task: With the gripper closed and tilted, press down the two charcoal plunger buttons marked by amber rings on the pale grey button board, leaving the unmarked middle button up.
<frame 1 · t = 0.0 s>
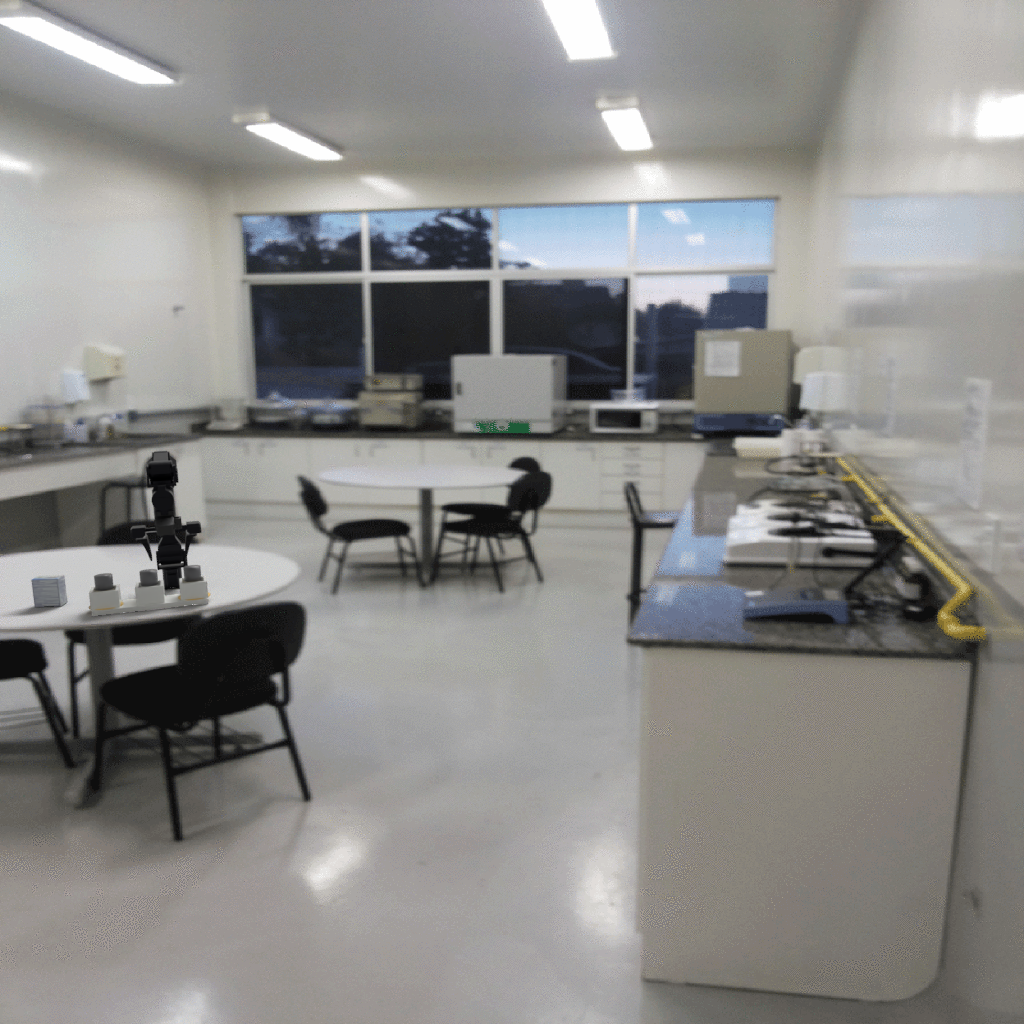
hand: (168, 559, 253), 15 cm above the table, tool pointing down, fingers open, 9 cm apart
medicine box: (51, 605, 263), on the table
button b: (148, 577, 258), point 9 cm above the table, slide at 0.0 cm
button board: (151, 605, 259), on the table
button c: (103, 582, 254), point 9 cm above the table, slide at 0.0 cm
button a: (192, 573, 262), point 9 cm above the table, slide at 0.0 cm
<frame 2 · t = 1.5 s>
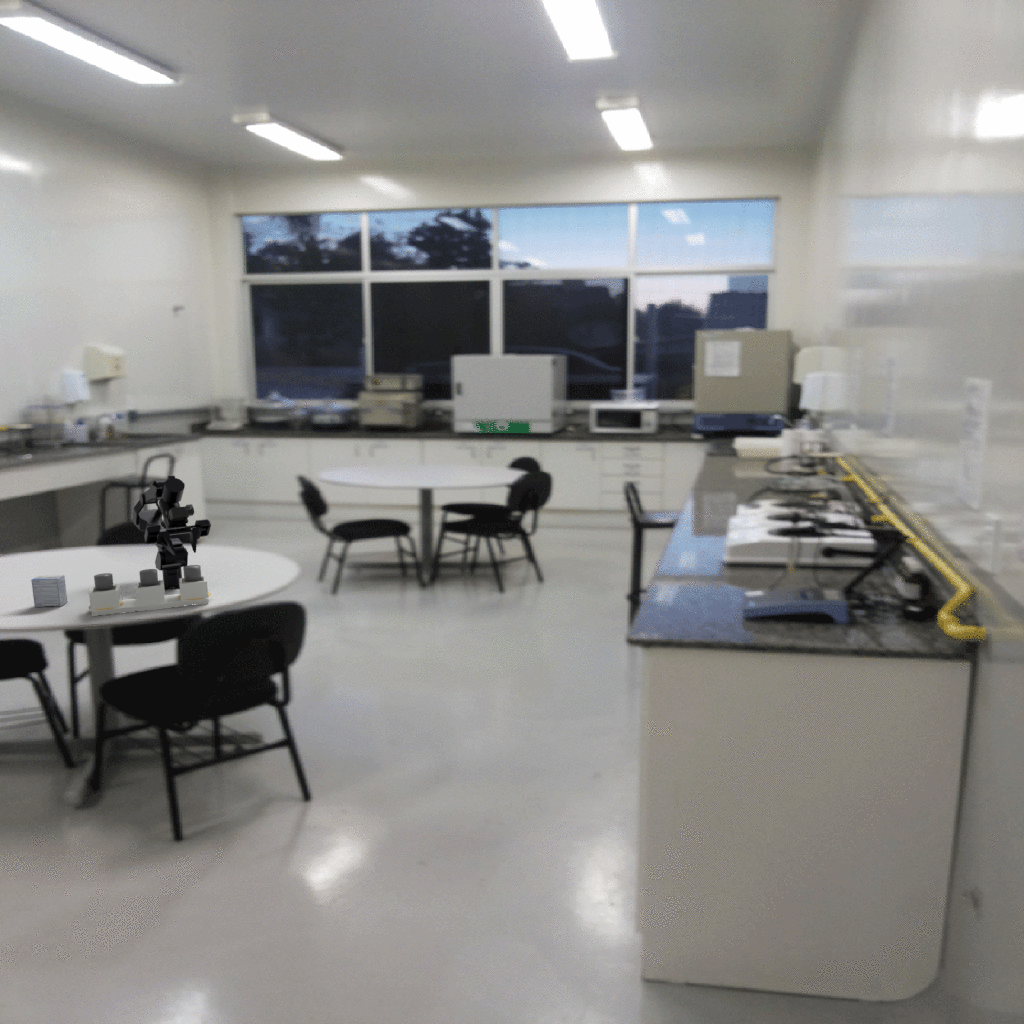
hand: (185, 553, 266), 14 cm above the table, tool tilted 45°, fingers open, 6 cm apart
nothing on the table moved.
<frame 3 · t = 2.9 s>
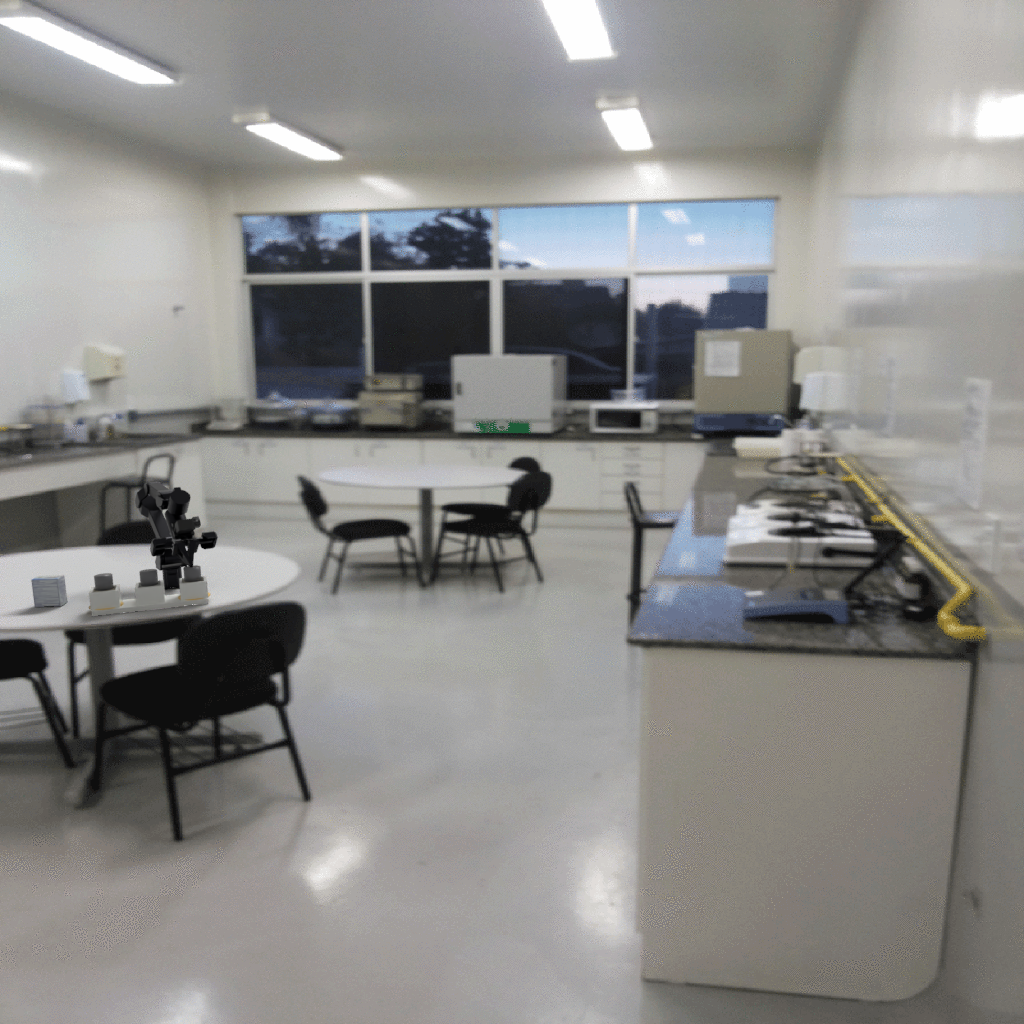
hand: (191, 566, 262), 11 cm above the table, tool tilted 45°, fingers closed, pressing on button a
button a: (192, 573, 262), point 8 cm above the table, slide at 0.2 cm, touching gripper
everything else where it was.
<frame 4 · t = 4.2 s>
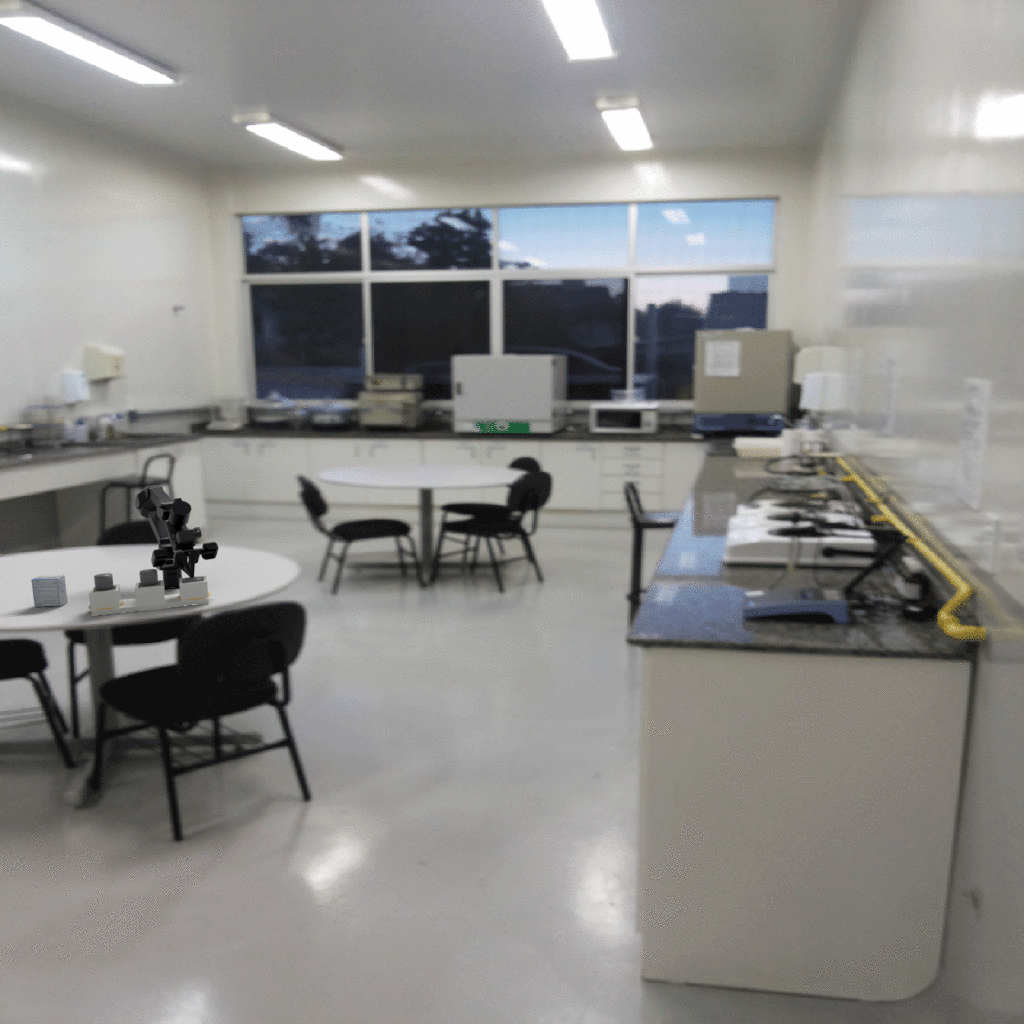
hand: (192, 577, 262), 7 cm above the table, tool tilted 45°, fingers closed
button a: (193, 585, 263), point 5 cm above the table, slide at 3.6 cm
everything else where it was.
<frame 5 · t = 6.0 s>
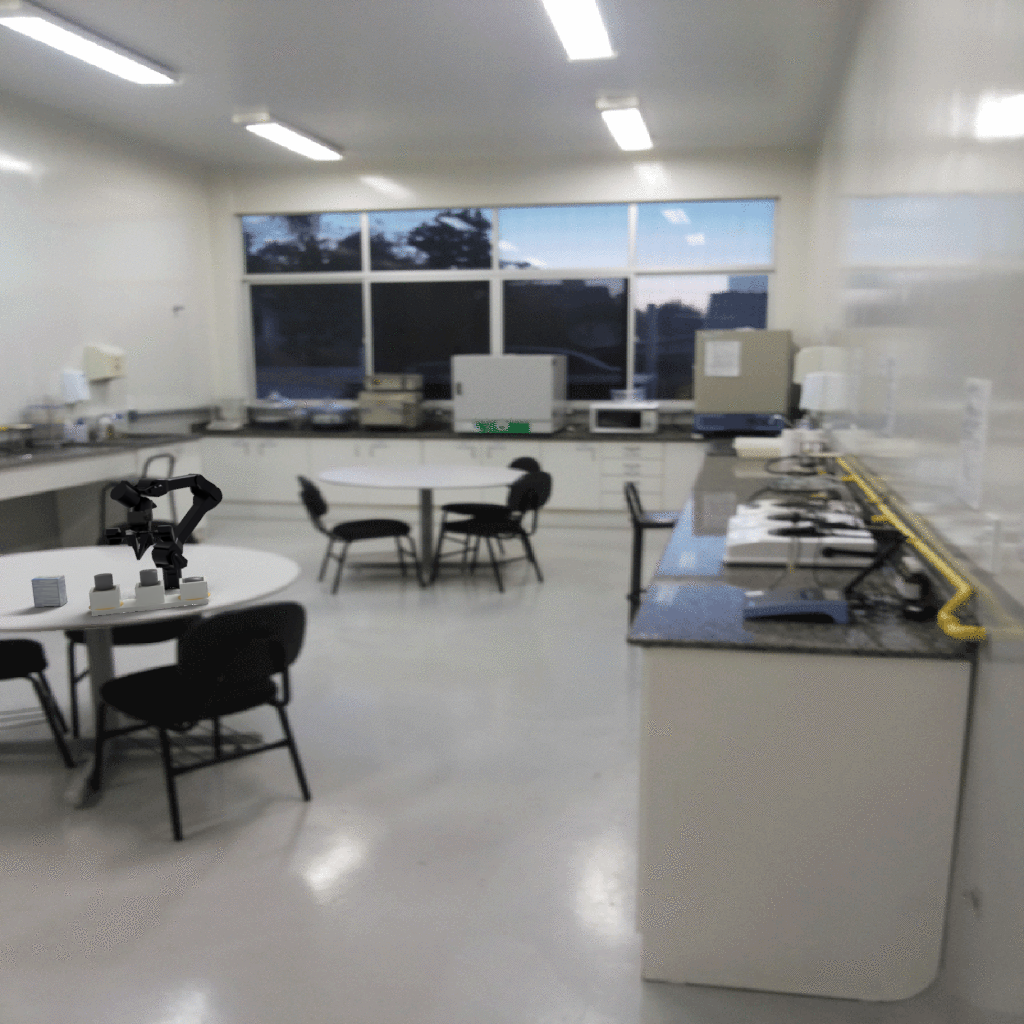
hand: (138, 559, 259), 14 cm above the table, tool tilted 45°, fingers closed
nothing on the table moved.
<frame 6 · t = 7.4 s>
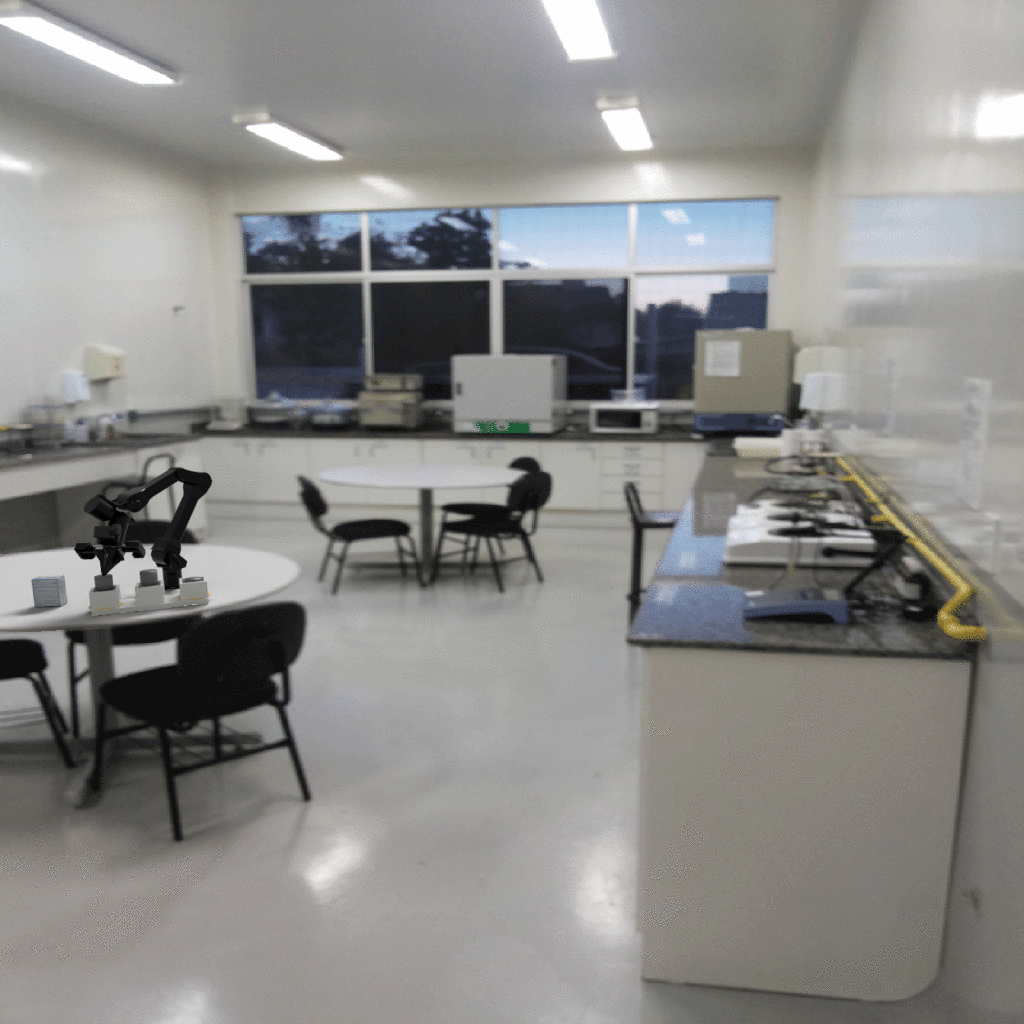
hand: (103, 574, 253), 11 cm above the table, tool tilted 45°, fingers closed, pressing on button c
button c: (103, 582, 254), point 8 cm above the table, slide at 0.2 cm, touching gripper
everything else where it was.
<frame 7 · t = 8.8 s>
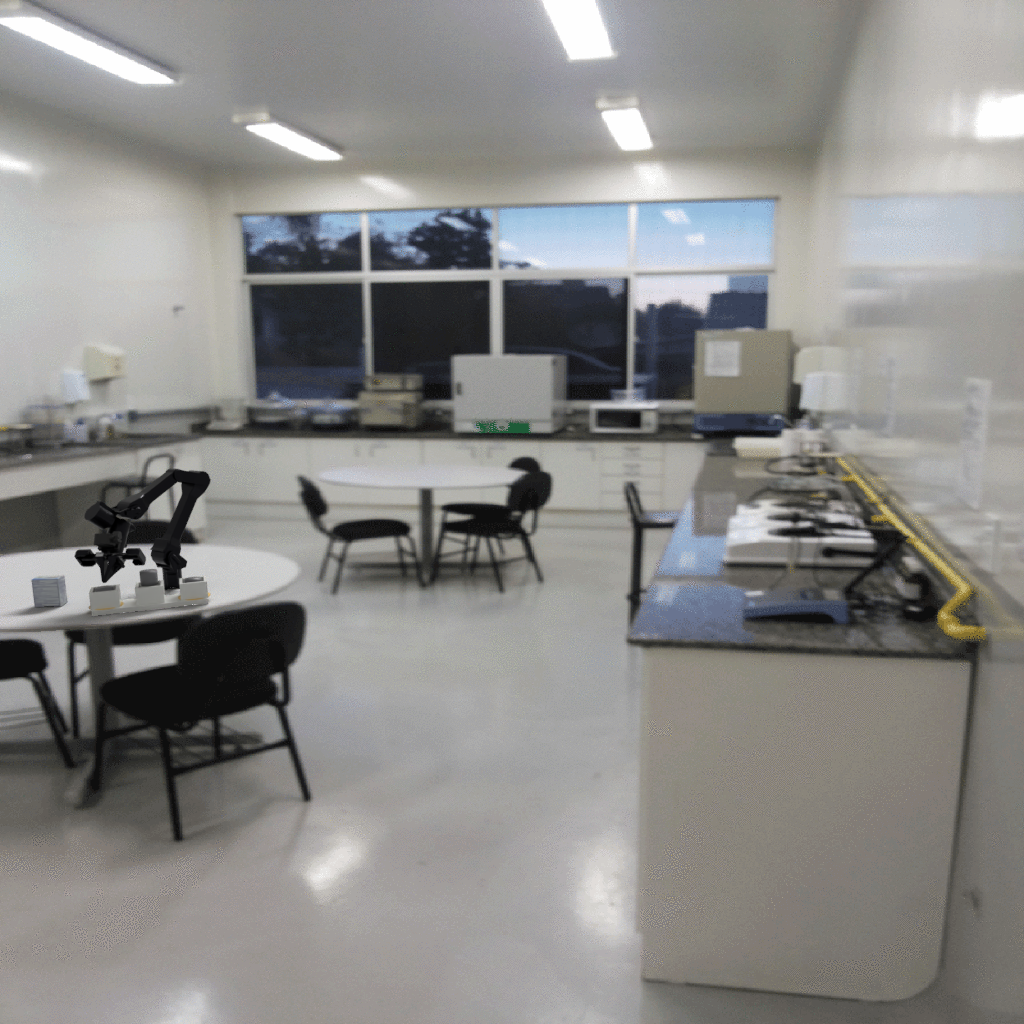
hand: (103, 582, 254), 8 cm above the table, tool tilted 45°, fingers closed
button c: (105, 594, 254), point 5 cm above the table, slide at 3.6 cm
everything else where it was.
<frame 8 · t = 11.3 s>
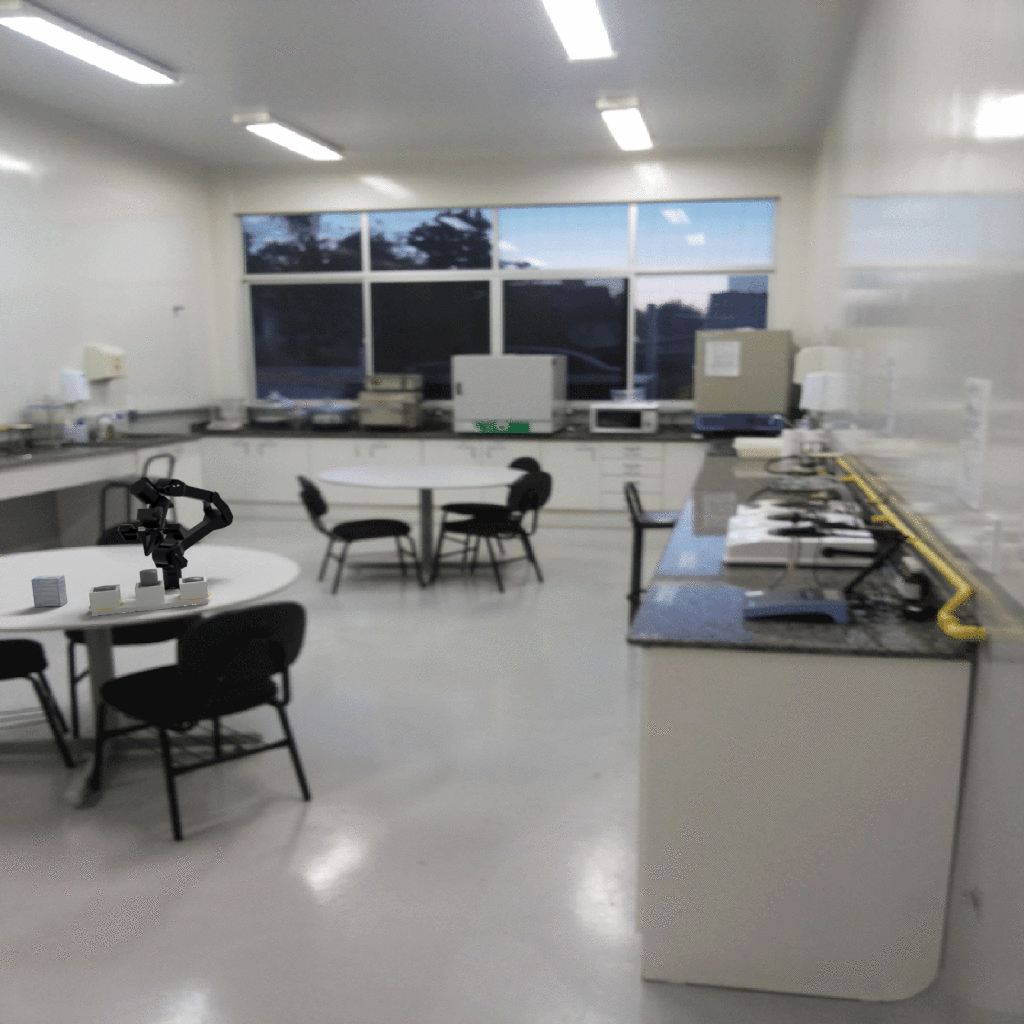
hand: (146, 555, 264), 14 cm above the table, tool tilted 45°, fingers closed
nothing on the table moved.
at the end: button a slide at 3.6 cm; button c slide at 3.6 cm; button b slide at 0.0 cm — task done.
